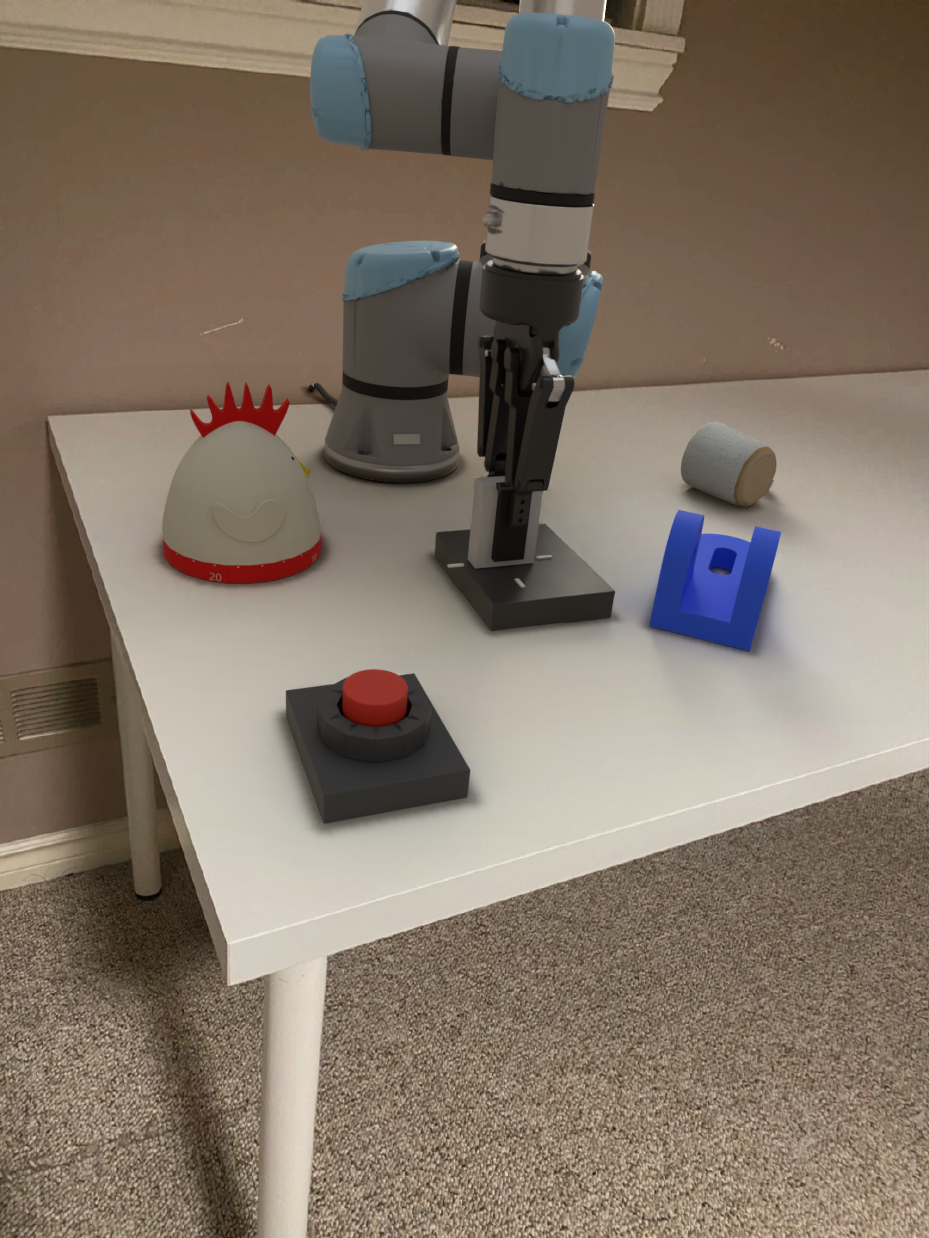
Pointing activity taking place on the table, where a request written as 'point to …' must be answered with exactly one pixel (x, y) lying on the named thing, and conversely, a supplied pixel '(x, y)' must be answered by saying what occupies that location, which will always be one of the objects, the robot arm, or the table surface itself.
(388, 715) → the stop button
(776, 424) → the table surface
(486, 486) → the grey upright block
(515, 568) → the panel
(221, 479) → the kitchen timer
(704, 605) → the bracket
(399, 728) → the stop housing
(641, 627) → the table surface
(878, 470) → the table surface
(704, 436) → the wooden log
